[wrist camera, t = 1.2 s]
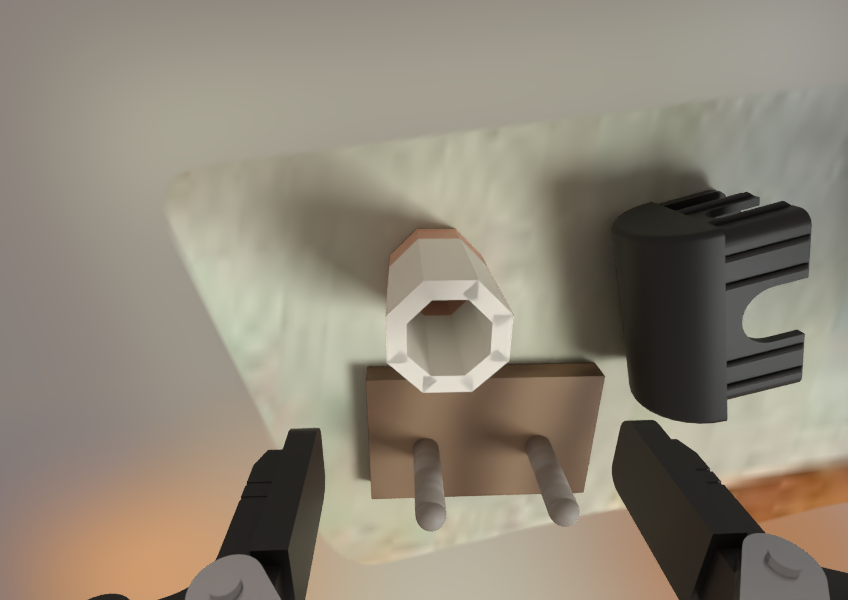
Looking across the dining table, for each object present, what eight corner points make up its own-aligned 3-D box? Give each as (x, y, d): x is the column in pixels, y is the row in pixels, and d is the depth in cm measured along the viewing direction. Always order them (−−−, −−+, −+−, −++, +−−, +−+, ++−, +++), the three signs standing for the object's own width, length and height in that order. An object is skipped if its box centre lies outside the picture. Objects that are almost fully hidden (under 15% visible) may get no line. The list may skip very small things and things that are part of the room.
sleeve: (482, 228, 25) (516, 279, 18) (477, 313, 27) (506, 391, 19) (389, 228, 25) (384, 280, 17) (391, 314, 27) (387, 393, 19)
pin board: (595, 363, 29) (654, 442, 22) (575, 475, 32) (621, 574, 25) (367, 367, 28) (357, 449, 21) (372, 481, 31) (365, 584, 25)
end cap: (587, 214, 25) (649, 249, 19) (718, 177, 25) (826, 202, 18) (607, 366, 29) (664, 438, 23) (721, 337, 28) (811, 403, 22)
